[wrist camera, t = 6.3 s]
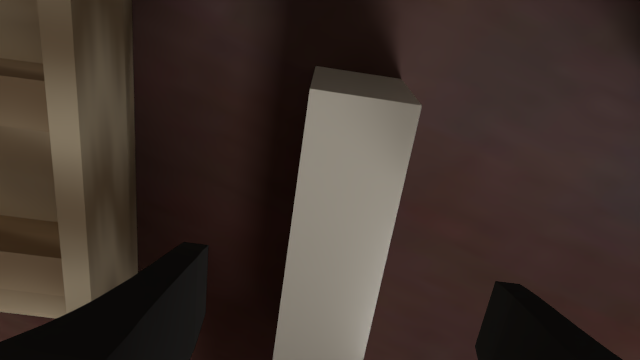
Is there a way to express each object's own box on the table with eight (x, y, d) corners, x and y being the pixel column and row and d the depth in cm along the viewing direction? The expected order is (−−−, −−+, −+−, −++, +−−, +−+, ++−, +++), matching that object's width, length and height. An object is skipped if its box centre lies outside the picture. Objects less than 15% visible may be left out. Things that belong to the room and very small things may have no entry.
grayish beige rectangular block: (347, 331, 24) (350, 412, 19) (280, 321, 24) (266, 401, 19) (400, 78, 19) (421, 105, 14) (315, 65, 19) (309, 88, 14)
